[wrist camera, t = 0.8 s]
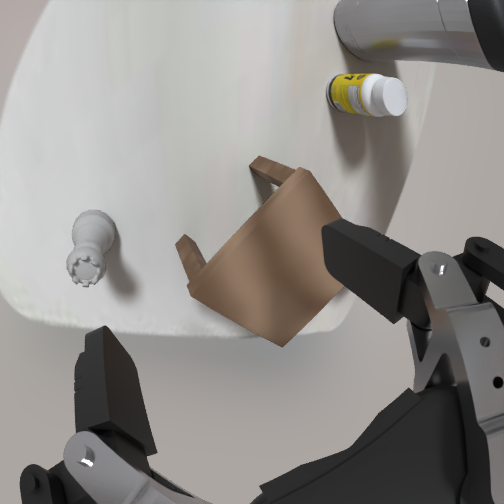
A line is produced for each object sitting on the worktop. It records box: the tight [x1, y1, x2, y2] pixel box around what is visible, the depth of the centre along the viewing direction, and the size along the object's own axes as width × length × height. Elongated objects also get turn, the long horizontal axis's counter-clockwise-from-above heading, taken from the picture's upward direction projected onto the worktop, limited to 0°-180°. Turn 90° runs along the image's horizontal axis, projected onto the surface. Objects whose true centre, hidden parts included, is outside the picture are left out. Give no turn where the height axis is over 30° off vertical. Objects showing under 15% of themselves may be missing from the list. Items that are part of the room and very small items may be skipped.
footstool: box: [175, 156, 344, 347], centre depth 28 cm, size 13×13×9 cm
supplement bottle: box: [327, 74, 408, 117], centre depth 24 cm, size 5×5×8 cm
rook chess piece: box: [66, 210, 115, 287], centre depth 21 cm, size 4×4×8 cm
